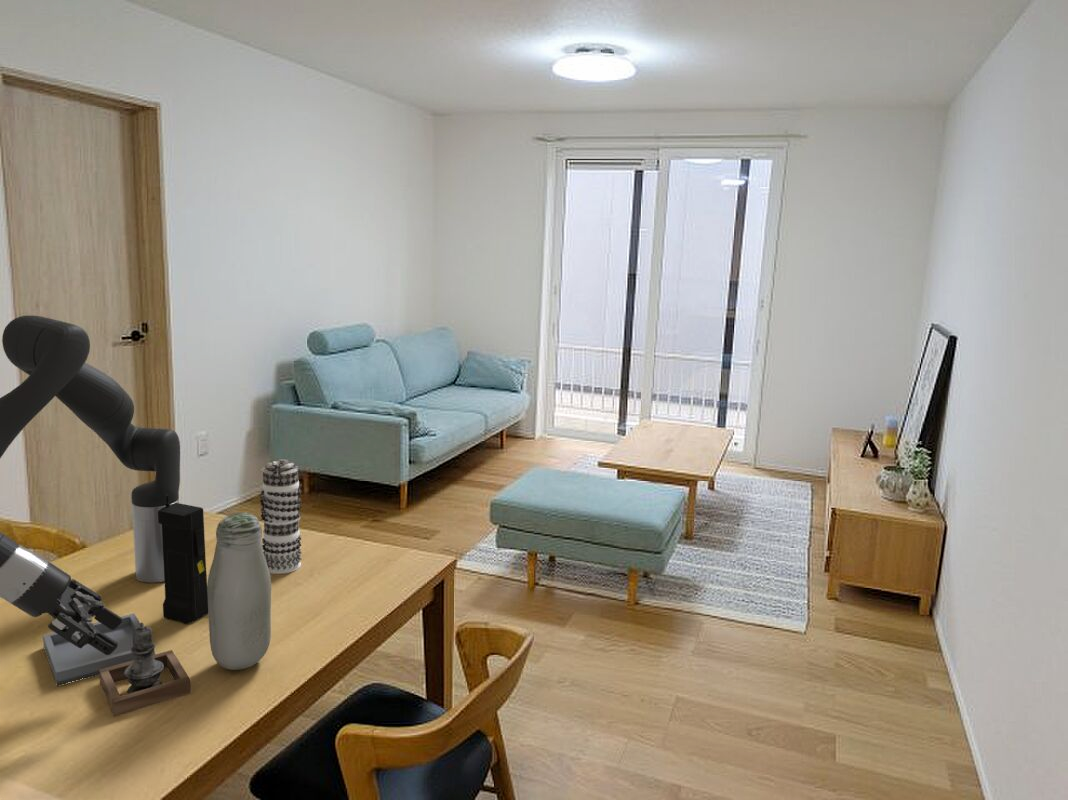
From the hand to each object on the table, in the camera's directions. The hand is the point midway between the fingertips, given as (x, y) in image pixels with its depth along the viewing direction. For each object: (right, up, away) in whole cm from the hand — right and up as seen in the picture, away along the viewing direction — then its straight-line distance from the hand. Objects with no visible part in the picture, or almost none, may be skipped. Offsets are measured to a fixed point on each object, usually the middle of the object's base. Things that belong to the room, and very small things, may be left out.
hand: (116, 636), depth 125 cm
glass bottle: (+16, -9, +12) cm, 22 cm away
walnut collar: (+3, -10, +3) cm, 11 cm away
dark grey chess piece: (+3, -10, +4) cm, 11 cm away
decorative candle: (+10, 0, +53) cm, 54 cm away
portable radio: (-1, -5, +28) cm, 29 cm away
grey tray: (-10, -7, +13) cm, 18 cm away
